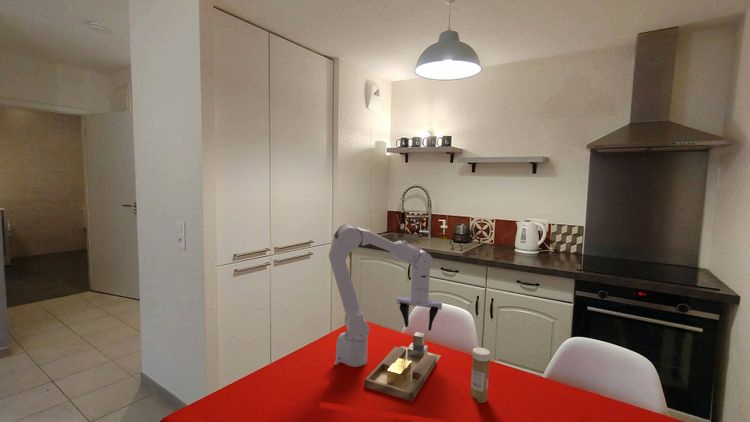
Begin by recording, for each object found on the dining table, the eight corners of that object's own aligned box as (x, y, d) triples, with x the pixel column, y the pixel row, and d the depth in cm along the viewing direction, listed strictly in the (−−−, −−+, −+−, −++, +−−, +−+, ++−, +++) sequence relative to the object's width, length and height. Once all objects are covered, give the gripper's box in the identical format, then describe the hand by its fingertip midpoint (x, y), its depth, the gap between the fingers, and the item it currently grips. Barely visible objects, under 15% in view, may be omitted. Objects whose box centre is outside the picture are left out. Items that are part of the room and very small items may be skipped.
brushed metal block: (407, 356, 117) (408, 336, 116) (411, 349, 121) (412, 331, 121) (423, 359, 115) (424, 340, 114) (427, 353, 119) (428, 334, 119)
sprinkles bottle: (490, 400, 96) (493, 352, 95) (479, 405, 93) (482, 356, 92) (477, 391, 100) (480, 345, 99) (466, 396, 97) (468, 349, 96)
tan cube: (393, 377, 104) (393, 364, 103) (398, 370, 107) (398, 358, 107) (405, 380, 102) (406, 367, 102) (410, 374, 106) (411, 361, 105)
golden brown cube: (386, 383, 100) (387, 370, 100) (392, 376, 104) (392, 363, 104) (399, 387, 99) (400, 373, 98) (405, 380, 102) (405, 367, 102)
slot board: (364, 389, 99) (364, 379, 98) (401, 348, 124) (401, 340, 124) (412, 404, 93) (412, 393, 92) (440, 358, 118) (441, 349, 118)
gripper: (395, 287, 114) (393, 329, 115) (441, 293, 110) (439, 335, 111) (400, 282, 121) (398, 321, 122) (443, 287, 117) (441, 327, 118)
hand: (418, 327), depth 117 cm, fingers open, 7 cm apart
